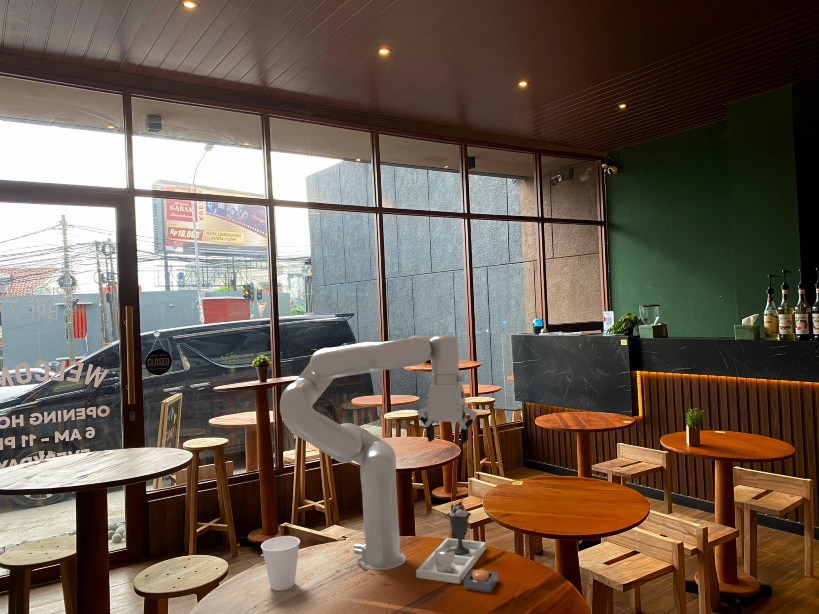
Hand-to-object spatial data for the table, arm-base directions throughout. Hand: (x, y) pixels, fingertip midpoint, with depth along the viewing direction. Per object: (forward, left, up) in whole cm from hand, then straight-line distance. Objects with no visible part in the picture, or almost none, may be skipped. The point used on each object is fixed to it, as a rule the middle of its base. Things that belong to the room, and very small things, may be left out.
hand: (447, 441), depth 164 cm
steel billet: (+1, -10, -31) cm, 33 cm away
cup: (-37, -28, -33) cm, 57 cm away
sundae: (+1, +3, -31) cm, 32 cm away
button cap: (+12, -14, -31) cm, 36 cm away
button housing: (+12, -14, -32) cm, 37 cm away
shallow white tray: (+1, -4, -32) cm, 33 cm away
